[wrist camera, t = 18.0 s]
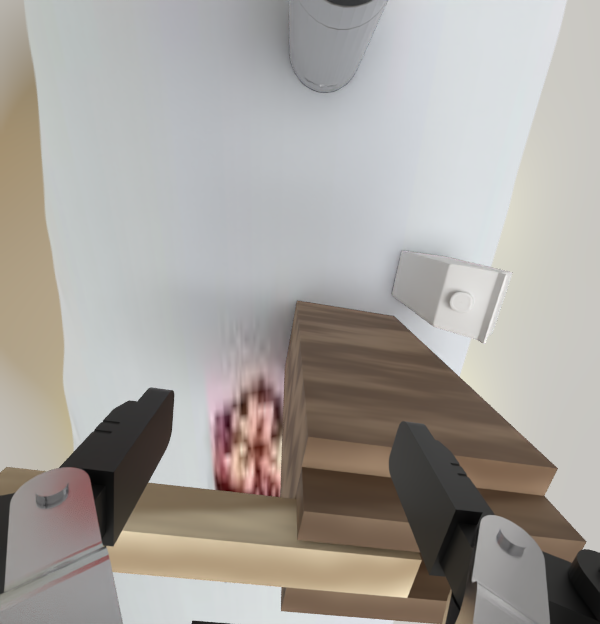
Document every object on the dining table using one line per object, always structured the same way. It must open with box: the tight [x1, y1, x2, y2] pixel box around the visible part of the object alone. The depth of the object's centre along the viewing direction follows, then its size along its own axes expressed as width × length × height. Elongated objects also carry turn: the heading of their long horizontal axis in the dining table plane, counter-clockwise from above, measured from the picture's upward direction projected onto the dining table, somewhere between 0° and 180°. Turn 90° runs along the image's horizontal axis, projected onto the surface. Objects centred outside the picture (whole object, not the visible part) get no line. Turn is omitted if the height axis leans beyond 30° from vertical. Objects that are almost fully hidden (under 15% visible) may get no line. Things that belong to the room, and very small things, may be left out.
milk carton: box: [392, 251, 512, 344], centre depth 39 cm, size 7×7×19 cm
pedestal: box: [280, 301, 586, 624], centre depth 34 cm, size 12×16×35 cm
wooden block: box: [0, 467, 422, 598], centre depth 18 cm, size 3×24×3 cm, turn 80°
